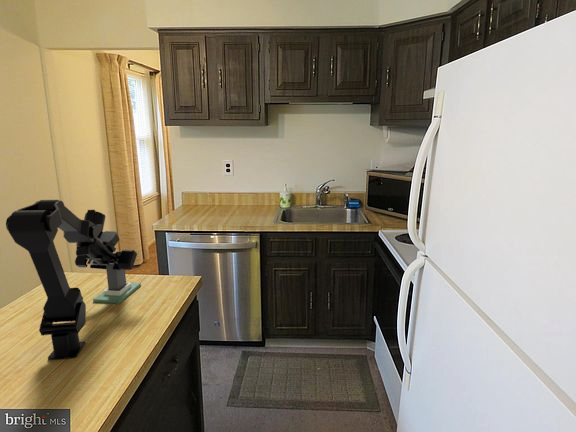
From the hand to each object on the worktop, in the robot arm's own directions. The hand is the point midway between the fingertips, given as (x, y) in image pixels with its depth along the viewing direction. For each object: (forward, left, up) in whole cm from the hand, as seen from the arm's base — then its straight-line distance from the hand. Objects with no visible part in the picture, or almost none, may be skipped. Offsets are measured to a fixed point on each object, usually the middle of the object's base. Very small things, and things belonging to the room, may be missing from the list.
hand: (118, 268), depth 122 cm
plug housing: (-1, 0, -7) cm, 7 cm away
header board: (-1, 0, -8) cm, 9 cm away
